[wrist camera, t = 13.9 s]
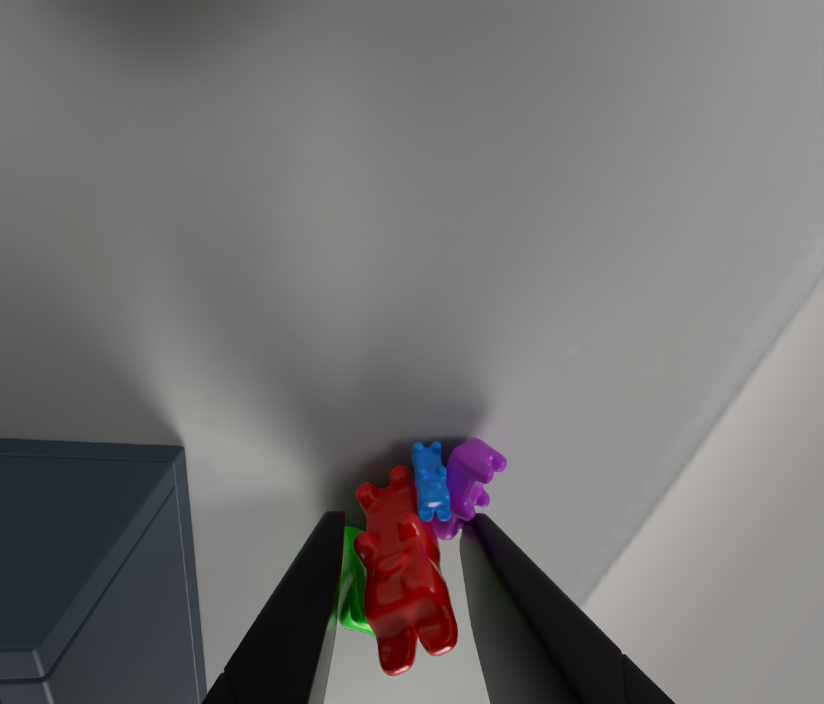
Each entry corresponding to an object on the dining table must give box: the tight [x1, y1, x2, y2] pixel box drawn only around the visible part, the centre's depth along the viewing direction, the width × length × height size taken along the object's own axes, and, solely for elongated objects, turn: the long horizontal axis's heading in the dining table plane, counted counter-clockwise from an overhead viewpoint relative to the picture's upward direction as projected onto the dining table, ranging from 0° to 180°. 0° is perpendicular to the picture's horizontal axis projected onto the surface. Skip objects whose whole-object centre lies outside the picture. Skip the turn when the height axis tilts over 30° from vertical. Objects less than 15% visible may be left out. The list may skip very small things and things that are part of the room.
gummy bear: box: [338, 438, 507, 676], centre depth 8 cm, size 5×3×4 cm, turn 118°
